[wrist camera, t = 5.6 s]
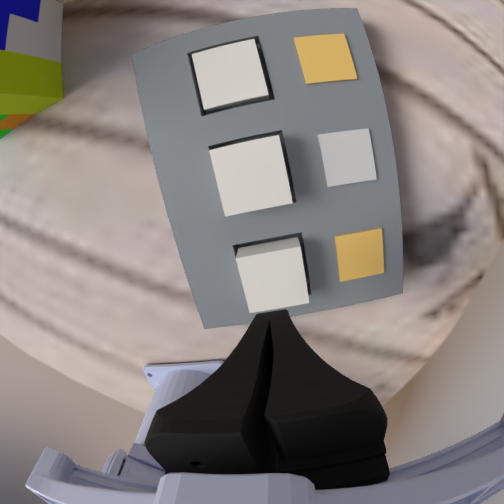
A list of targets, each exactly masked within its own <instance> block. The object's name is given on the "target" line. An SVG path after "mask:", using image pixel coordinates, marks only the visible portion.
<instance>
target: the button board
mask: <svg viewBox="0 0 504 504" xmlns="http://www.w3.org/2000/svg"><path fill="white" fill-rule="evenodd" d="M251 39H254V40H255V44H256V47H257V51H258V55H259V59H260V63H261V67H262V70H263V74H264V78H265V82H266V86H267V90H268V95H269V100H264V101H259V102H254V103H249V104H245V105H240V106H236V107H231V108H227V109H223V110H219V111H215V112H212V113H209V112H207V111H206V110H204V107H203V103H202V99H201V94H200V90H199V85H198V81H197V76H196V72H195V67H194V63H193V58H192V54H194V53H198V52H201V51H205V50H208V49H212V48H216V47H220V46H224V45H228V44H232V43H237V42H241V41H246V40H251ZM132 59H133V65H134V71H135V77H136V82H137V87H138V93H139V98H140V103H141V108H142V113H143V117H144V122H145V127H146V131H147V136H148V140H149V144H150V148H151V153H152V157H153V161H154V165H155V169H156V173H157V177H158V181H159V185H160V188H161V192H162V196H163V200H164V203H165V207H166V210H167V214H168V217H169V221H170V224H171V228H172V231H173V235H174V238H175V241H176V245H177V248H178V251H179V254H180V258H181V261H182V264H183V267H184V270H185V273H186V276H187V279H188V282H189V285H190V288H191V291H192V294H193V297H194V300H195V303H196V306H197V309H198V312H199V315H200V317H201V320H202V323H203V326H204V329H209V328H217V327H225V326H232V325H240V324H247V323H251V322H252V320H253V319H254V317H255V315H256V314H259V313H265V312H271V311H277V310H283V309H286V310H288V311H289V316H290V317H291V316H297V315H302V314H308V313H313V312H319V311H324V310H329V309H334V308H339V307H344V306H349V305H353V304H358V303H363V302H367V301H372V300H376V299H380V298H385V297H389V296H393V295H397V294H401V293H403V239H402V219H401V205H400V193H399V183H398V175H397V166H396V159H395V152H394V146H393V140H392V134H391V128H390V123H389V118H388V113H387V108H386V103H385V99H384V94H383V90H382V86H381V82H380V78H379V74H378V71H377V67H376V63H375V60H374V56H373V53H372V50H371V47H370V43H369V40H368V37H367V34H366V31H365V28H364V25H363V23H362V20H361V17H360V14H359V12H358V9H357V8H330V9H312V10H300V11H290V12H282V13H274V14H268V15H261V16H256V17H250V18H245V19H240V20H235V21H231V22H226V23H222V24H218V25H214V26H210V27H207V28H203V29H200V30H196V31H193V32H189V33H186V34H183V35H180V36H177V37H174V38H171V39H168V40H165V41H163V42H160V43H157V44H155V45H152V46H149V47H147V48H144V49H142V50H140V51H137V52H135V53H133V54H132ZM276 135H279V138H280V143H281V147H282V152H283V157H284V162H285V166H286V171H287V176H288V181H289V186H290V191H291V197H292V202H293V203H292V204H286V205H281V206H276V207H271V208H266V209H260V210H255V211H250V212H245V213H241V214H236V215H231V216H226V217H225V214H224V210H223V206H222V202H221V198H220V194H219V190H218V186H217V181H216V177H215V173H214V169H213V165H212V161H211V156H210V152H209V150H212V149H216V148H220V147H224V146H229V145H233V144H237V143H242V142H246V141H251V140H256V139H261V138H266V137H271V136H276ZM294 237H298V240H299V243H300V247H301V252H302V259H303V265H304V271H305V277H306V284H307V290H308V297H309V303H307V304H301V305H296V306H290V307H284V308H279V309H272V310H266V311H260V312H254V313H250V312H249V308H248V305H247V301H246V297H245V293H244V289H243V285H242V281H241V278H240V274H239V270H238V266H237V262H236V255H237V252H238V248H241V247H246V246H252V245H257V244H262V243H267V242H273V241H278V240H284V239H289V238H294Z"/></svg>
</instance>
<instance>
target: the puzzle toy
mask: <svg viewBox="0 0 504 504" xmlns="http://www.w3.org/2000/svg"><path fill="white" fill-rule="evenodd" d="M62 15H63V4H62V3H60V2H58V1H56V0H0V138H1V137H3V136H4V135H5V134H7V133H8V132H10V131H11V130H13V129H14V128H16V127H17V126H18V125H20V124H22V123H23V122H25V121H26V120H28V119H29V118H31V117H33V116H34V115H36V114H37V113H39V112H41V111H42V110H44V109H46V108H48V107H49V106H51V105H53V104H55V103H56V102H58V101H60V100H62V99H63V85H62V61H61V39H62Z"/></svg>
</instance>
